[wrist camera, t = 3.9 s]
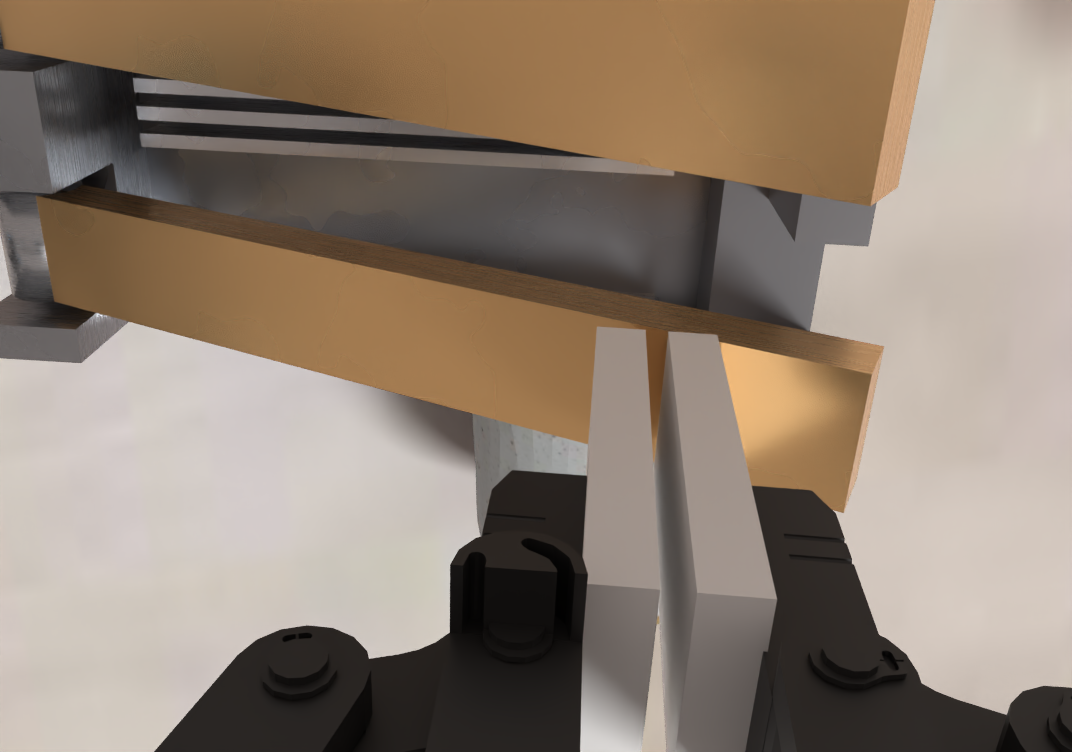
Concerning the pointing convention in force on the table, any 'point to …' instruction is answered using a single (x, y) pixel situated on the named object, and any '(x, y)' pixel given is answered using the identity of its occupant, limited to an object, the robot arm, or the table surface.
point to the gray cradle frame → (335, 186)
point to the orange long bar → (430, 324)
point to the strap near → (552, 72)
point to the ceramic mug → (519, 456)
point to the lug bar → (771, 250)
